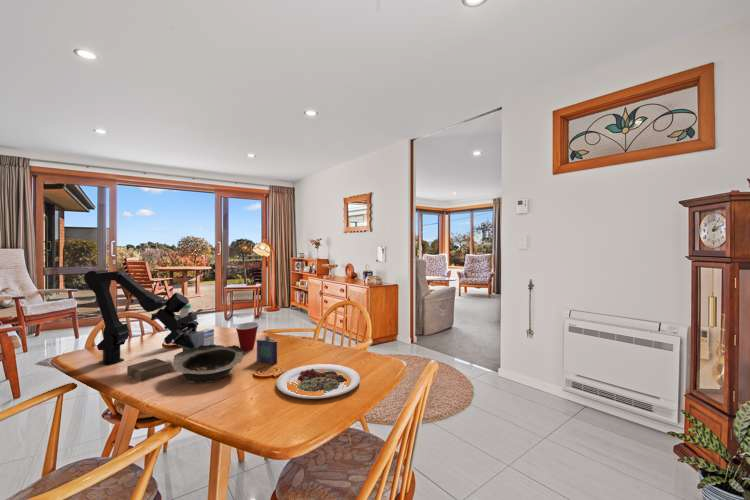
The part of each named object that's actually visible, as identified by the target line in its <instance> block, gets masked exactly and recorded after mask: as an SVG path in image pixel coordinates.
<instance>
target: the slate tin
mask: <svg viewBox="0 0 750 500" xmlns="http://www.w3.org/2000/svg"><path fill="white" fill-rule="evenodd" d="M186 337H187V338H188V340H189V341H190V342H191V343H192V345H193V346H194V348H197V347H199V346H201V345H204V331H202V330H199V331H197V330H196V331H190V332H188V333H186ZM194 348H193V349H194ZM189 349H190V348H187V347H184V346H182V352H183V351H185V350H189ZM190 350H191V349H190Z"/></svg>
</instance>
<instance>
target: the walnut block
mask: <svg viewBox="0 0 750 500" xmlns="http://www.w3.org/2000/svg"><path fill="white" fill-rule="evenodd" d="M169 373H171V362H169V361H166V360H162V359H160V358H153V359H152V358H151V359H148V360H145V361H142V362H138V363H134V364H131V365H127V373H126V375H127V377H130V378H132V379H135V380H137V381H141V382H143V381H147V380H150V379H153V378H156V377H159V376H162V375H166V374H169Z"/></svg>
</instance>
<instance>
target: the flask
mask: <svg viewBox="0 0 750 500" xmlns="http://www.w3.org/2000/svg"><path fill="white" fill-rule="evenodd" d="M270 336H271V335H270V334H269V335H265V336H264V338H256V362H257V363H263V364H269V365H277V364H278V341H277V340H276V339H273V338H271V337H270Z"/></svg>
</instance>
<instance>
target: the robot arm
mask: <svg viewBox="0 0 750 500" xmlns="http://www.w3.org/2000/svg"><path fill="white" fill-rule="evenodd" d="M83 280H84V282H85V284H86V285H87V287H88V288H89V289H90V290H91V291H92V292H93V293H94V296H95V298H96V301H97V304H98V307H99V311H100V314H101V317H102V320H103V323H104V327H103V332H102V337H103V339H102V340H101V341H100V342H99V343H98V344H97V345H96V348H97V350H98V351H102V360H99V361H98V363H99V364H102V365H105V366H106V365H107V366H108V365H112V364H115V363H119V362H124V361H125V359H124V358H121V346H122V345H125V343H126V341H127V340H128V338H129V336H130V331H131V330H130V329H129V326H128V322H127V323H123V322H122V321H120V318H119V315H118V313H117V309H116V306H115V302H114V300H113V297H112V293H111V290H110V288H111V284H112V281H115V282H116V283H118V285H120V286H121V287H122V288H123V289H124V290H125V291H127V292H128V293H129V294H131V296H133V297H135V299H136V300H137V301H138V304H139V306H140V308H142V309H143V310H144V311H145V312H147V313H151V316H150V317H151V318H150V321H155V320H158V321H159V322H160V323H161V324H162V325H164V327H163V328H164V330H169V332H170V333H168V334H167V336H165V337H164V339H163V340H164V343H165V344H166V345H167V346H168V345H171V344H172V345H176V346H177V345H180V346H179V347H183V346H184V347H187V348H190V349H192V348H194V346H193V345H192V343H191V342H190V341H189V340H188V338H187V337H186V333H188V332H190V331H197V330H198V329H197V328H198V326H199V325H200V323H199V322H198V321H197V320H198V314H197V313H196V312H194V311H192V310H191V312H189V313H188V316H185V317H182V316H179V315H177V314H176V313H179V312H181V309H183V308H184V307H185V306H186V305H187V304H190V303H189V302H190V301H189V299H188V298H187V297H186V296H185V295H184V294H180V293H179V292H174V293H173V294H172V295H171V296H170V297H169V298H168V299H165V298H163V297H162V296H160V295H158V294H156V293H155V292H151V291H149V290H147V289H146V288H145V287H143V286H142V285H141V284H140V283H139V282H137V281H136V280H135V279H134V278H132V277H131V276H130V275H129V274H128V273H127V272H126V271H124V270H115V271H107V270H105V269H96V270H89V271H87V272H86V273H85V275H84V277H83ZM163 307H164V308H163ZM152 312H154V313H152ZM189 322H190V323H189Z"/></svg>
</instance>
